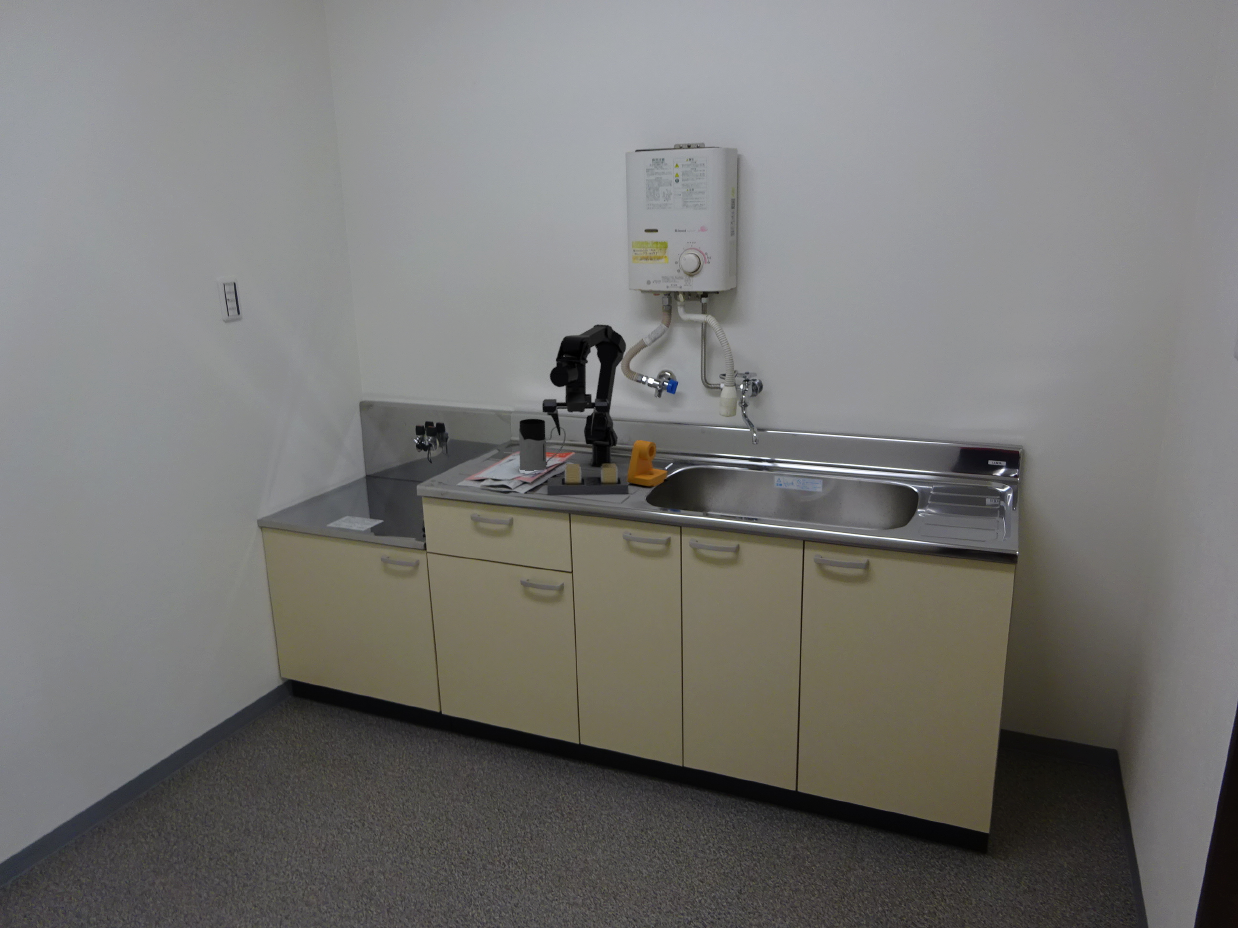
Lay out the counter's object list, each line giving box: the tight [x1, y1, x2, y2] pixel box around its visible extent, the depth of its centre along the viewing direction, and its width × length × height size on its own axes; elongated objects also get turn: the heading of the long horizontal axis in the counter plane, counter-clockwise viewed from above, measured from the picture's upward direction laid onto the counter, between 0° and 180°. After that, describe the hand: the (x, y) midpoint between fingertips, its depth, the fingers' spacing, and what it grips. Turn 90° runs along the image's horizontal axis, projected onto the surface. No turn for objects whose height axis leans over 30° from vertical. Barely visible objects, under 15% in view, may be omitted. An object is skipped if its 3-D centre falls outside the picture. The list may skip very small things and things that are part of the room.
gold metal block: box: [564, 463, 582, 485], centre depth 241 cm, size 4×4×7 cm
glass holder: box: [518, 418, 566, 471], centre depth 259 cm, size 9×14×15 cm, turn 87°
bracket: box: [626, 439, 668, 487], centre depth 249 cm, size 11×7×12 cm, turn 148°
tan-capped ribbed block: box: [600, 463, 619, 485], centre depth 242 cm, size 4×4×7 cm
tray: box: [546, 476, 629, 496], centre depth 242 cm, size 8×22×2 cm, turn 93°
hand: (575, 435), depth 249 cm, fingers open, 9 cm apart
